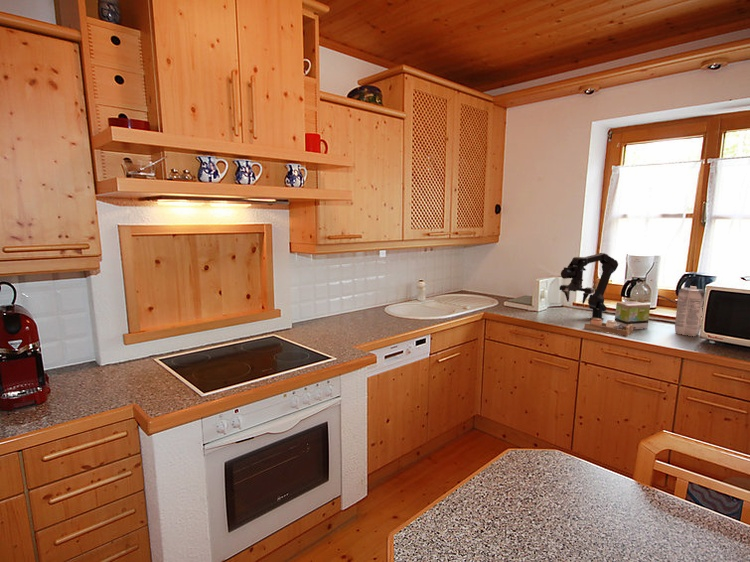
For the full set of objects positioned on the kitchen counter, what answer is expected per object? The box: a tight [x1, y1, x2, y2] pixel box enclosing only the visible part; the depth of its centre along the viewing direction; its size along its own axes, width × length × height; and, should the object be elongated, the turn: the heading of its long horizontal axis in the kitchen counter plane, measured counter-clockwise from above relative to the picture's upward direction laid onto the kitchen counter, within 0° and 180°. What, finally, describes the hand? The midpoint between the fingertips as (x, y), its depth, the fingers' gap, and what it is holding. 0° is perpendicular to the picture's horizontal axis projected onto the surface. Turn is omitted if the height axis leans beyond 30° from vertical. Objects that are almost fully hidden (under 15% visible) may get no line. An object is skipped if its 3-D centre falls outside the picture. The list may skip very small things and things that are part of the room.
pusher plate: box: [616, 323, 623, 330], centre depth 236 cm, size 7×2×4 cm, turn 134°
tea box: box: [614, 301, 651, 330], centre depth 246 cm, size 15×10×15 cm, turn 105°
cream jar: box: [605, 319, 617, 328], centre depth 239 cm, size 6×6×6 cm
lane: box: [583, 320, 634, 337], centre depth 240 cm, size 10×22×5 cm, turn 44°
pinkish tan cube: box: [590, 318, 603, 326], centre depth 244 cm, size 6×6×6 cm
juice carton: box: [674, 285, 705, 338], centre depth 231 cm, size 9×10×27 cm
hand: (575, 302), depth 259 cm, fingers open, 9 cm apart
